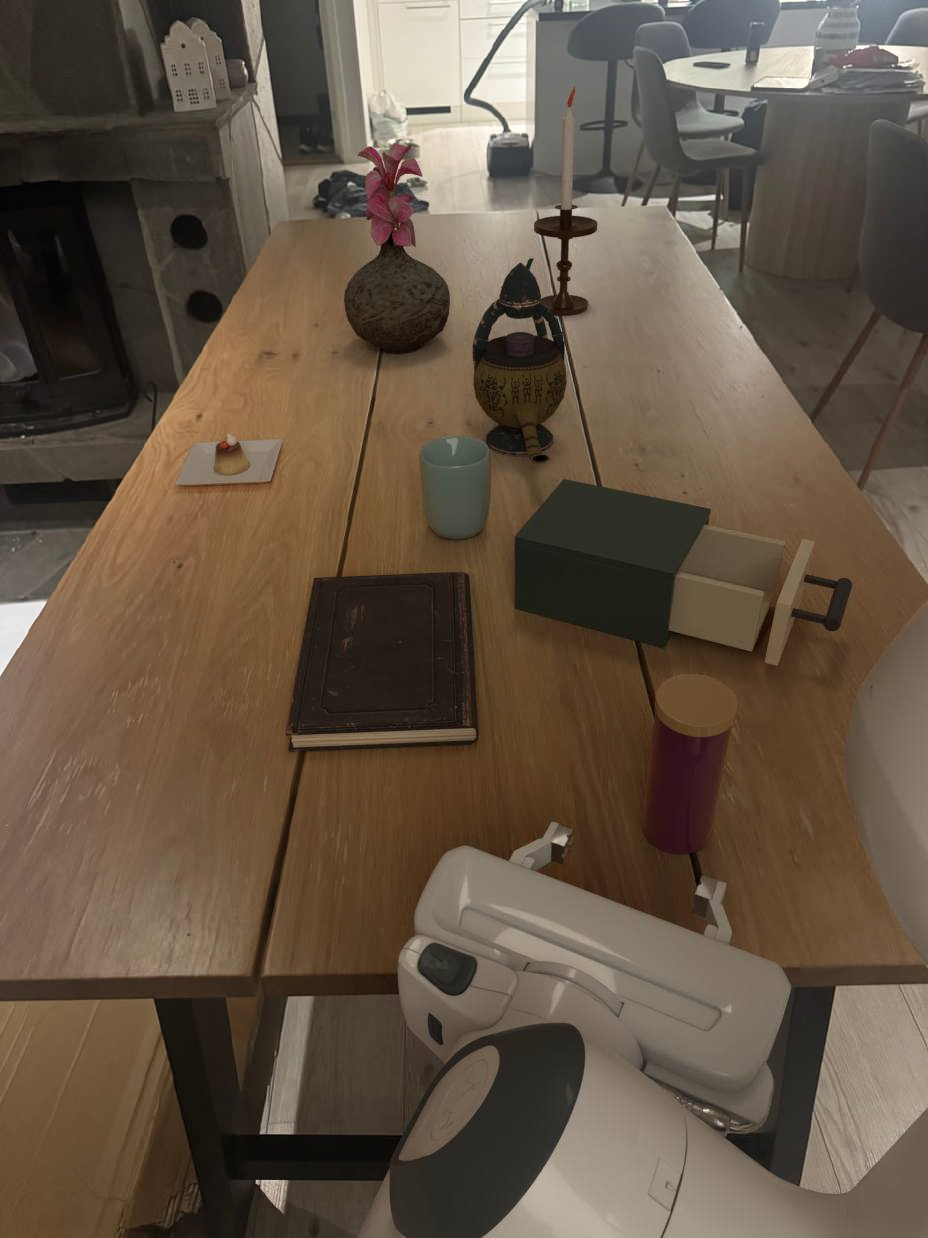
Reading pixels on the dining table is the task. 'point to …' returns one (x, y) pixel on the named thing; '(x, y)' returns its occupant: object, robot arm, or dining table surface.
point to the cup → (455, 485)
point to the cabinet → (605, 559)
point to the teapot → (519, 370)
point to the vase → (394, 267)
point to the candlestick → (566, 226)
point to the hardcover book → (385, 664)
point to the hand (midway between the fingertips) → (636, 857)
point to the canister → (687, 761)
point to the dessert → (230, 462)
